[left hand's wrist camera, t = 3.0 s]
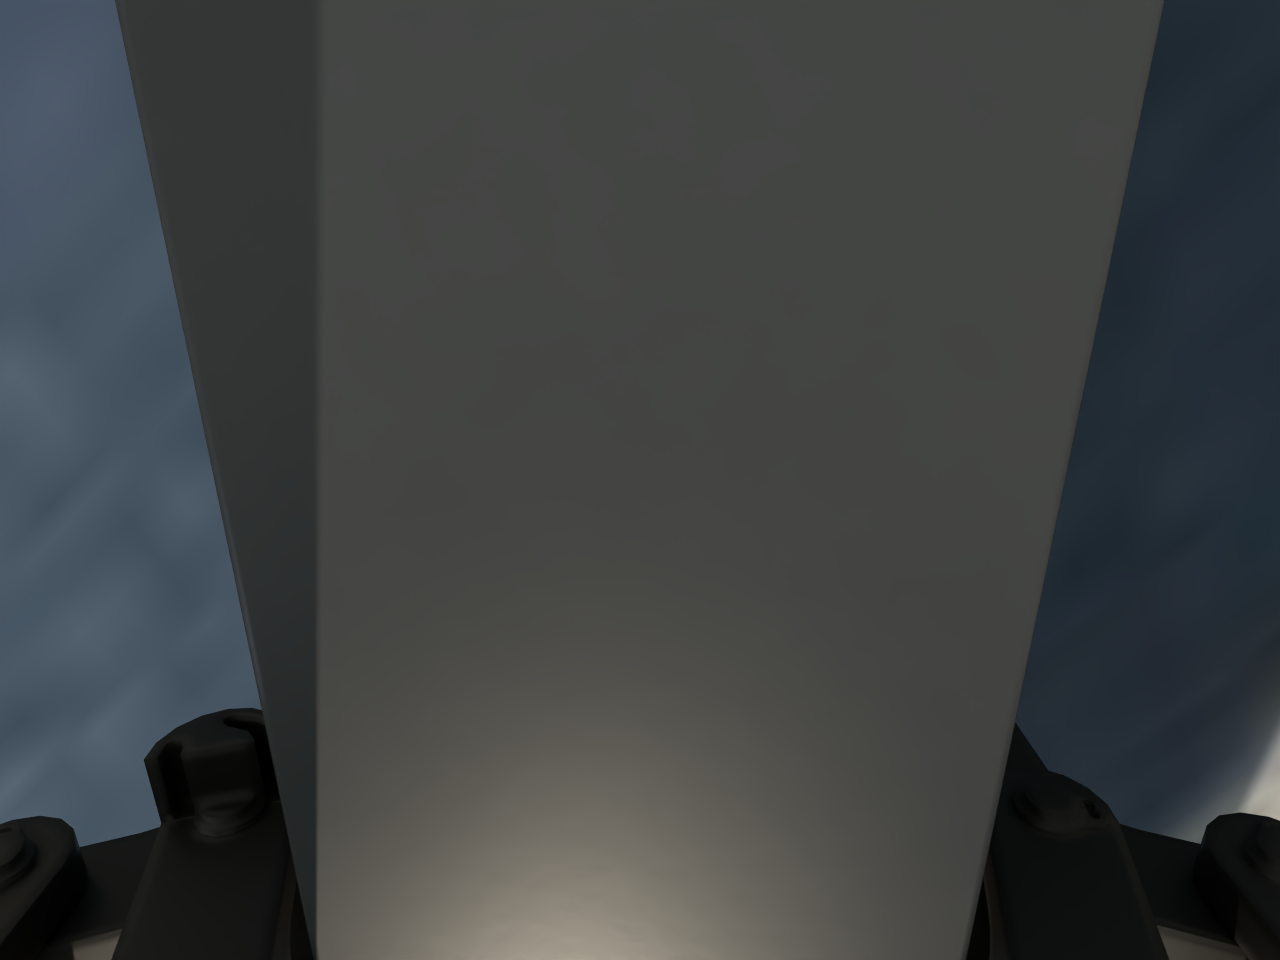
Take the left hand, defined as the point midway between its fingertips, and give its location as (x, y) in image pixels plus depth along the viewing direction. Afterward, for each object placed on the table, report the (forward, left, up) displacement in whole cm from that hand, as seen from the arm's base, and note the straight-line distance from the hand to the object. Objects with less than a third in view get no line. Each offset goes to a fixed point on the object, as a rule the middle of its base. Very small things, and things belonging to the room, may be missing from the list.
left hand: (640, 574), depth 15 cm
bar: (+5, +5, -1) cm, 8 cm away
